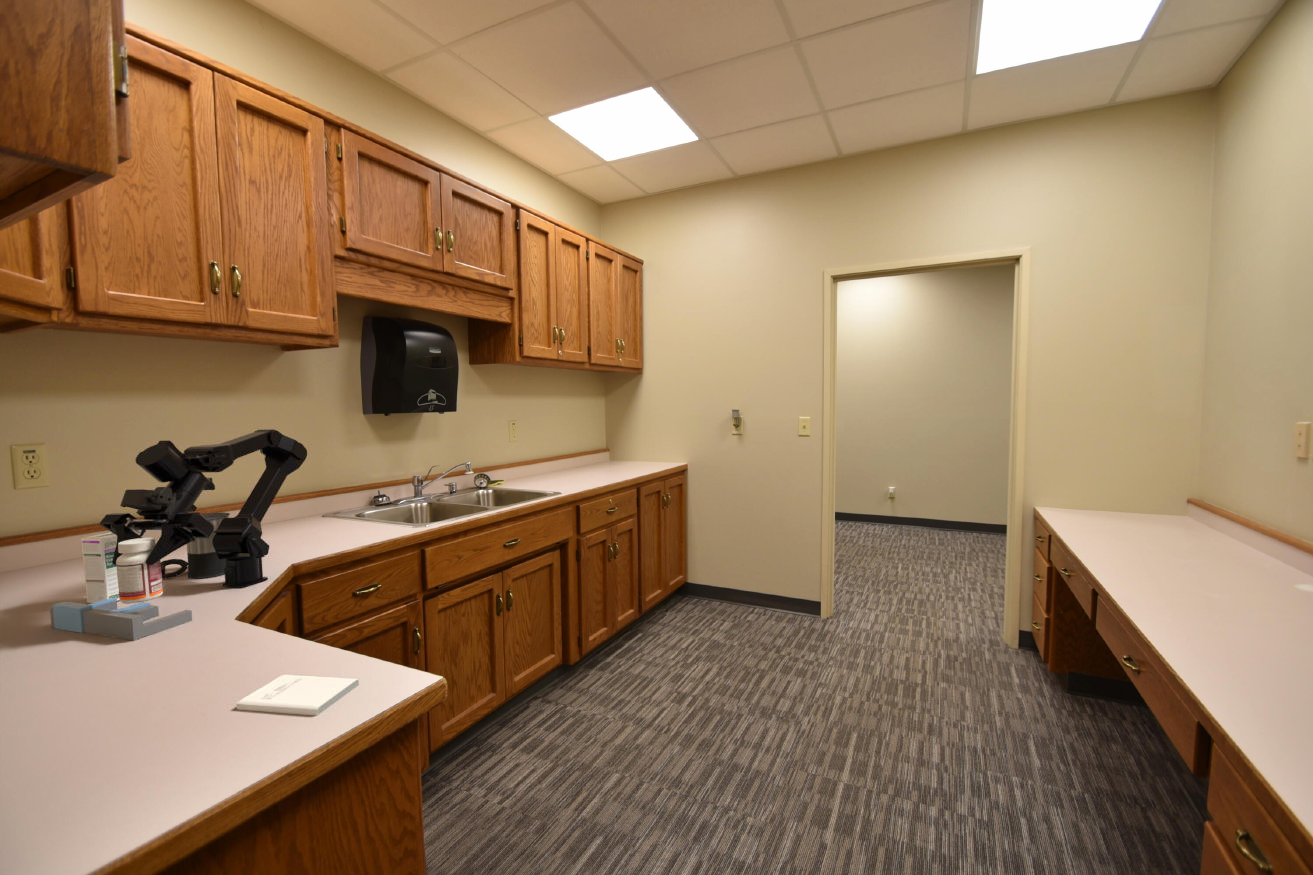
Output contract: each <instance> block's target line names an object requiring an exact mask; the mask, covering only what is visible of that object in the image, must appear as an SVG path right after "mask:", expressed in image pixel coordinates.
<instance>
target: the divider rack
mask: <svg viewBox="0 0 1313 875" xmlns="http://www.w3.org/2000/svg"><path fill="white" fill-rule="evenodd" d="M49 612H50V613H49V614H50V624H51V628H54V629H57V630H62V631H69V632H73V633H74V632H75V633H81V634H82V633H83V634H84V633H85V634H91V635H92V634H93V635H97V636H98V635H99V636H104V637H109V638H110V637H111V638H116V639H121V640H122V639H123V640H127V639H129V641H133V640H134V641H137V640H140V639H143V638H146V637H149V636H151V635H154V634H157V633H161V632H163V631H165V630H170V629H172V628H174V627H178V626H180V625H184V624H186V623H188V622H192V621H193V614H192V610H190V609H184V610H181V611H178V612H176V613H172V614H170V615H165V616H163V617H161V618H157V619H154V620H150V619H153V618H156V617H160V615H159V614H160V612H159V605H152V604H151V603H150V602H147V601H144V602H139V603H134V604H132V605H128V606H125V607H121V608H118V601H117V599H116V598H110V599H106V600H103V601H99V602H95V603H88V604H86V603H85V604H84V603H78V602H73V601H72V602H71V601H62V602H58V603H55V604H52V605H51V606H49ZM147 620H150V621H147ZM144 621H147V622H144ZM143 622H144V623H143ZM145 636H146V637H145ZM136 639H137V640H136Z"/></svg>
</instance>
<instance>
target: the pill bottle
mask: <svg viewBox="0 0 1313 875" xmlns="http://www.w3.org/2000/svg"><path fill="white" fill-rule="evenodd" d="M155 545H156V538H155V537H142V538H137V539H131V540H126V541H122V542H120V543H118V552H119V553H123V554H122V555H121V556H120V557H118V558H117V560H116V567H117V578H118V588H119V598H120V600H119V602H120V603H122V604H124V605H125V604H127V605H129V604H138V603H141V602H148V601H151V600H154V599H157V598H159V597H160V596H162V595H163V594H164V586H163V579H162V572H161V562H162V561H161V560H159V561H157V562H156V563H154V564H153V565H148V564H146V560H147V558H148V556H149V555H150V553H151V551H152V550H153V548H154V546H155Z"/></svg>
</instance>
